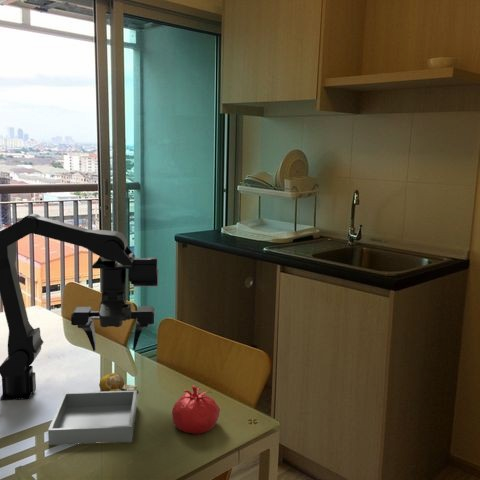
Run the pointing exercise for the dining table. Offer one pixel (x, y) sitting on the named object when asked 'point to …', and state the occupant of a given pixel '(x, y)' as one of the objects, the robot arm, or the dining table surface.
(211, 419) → the pomegranate
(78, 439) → the serving bin
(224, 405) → the dining table surface
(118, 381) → the fruit
